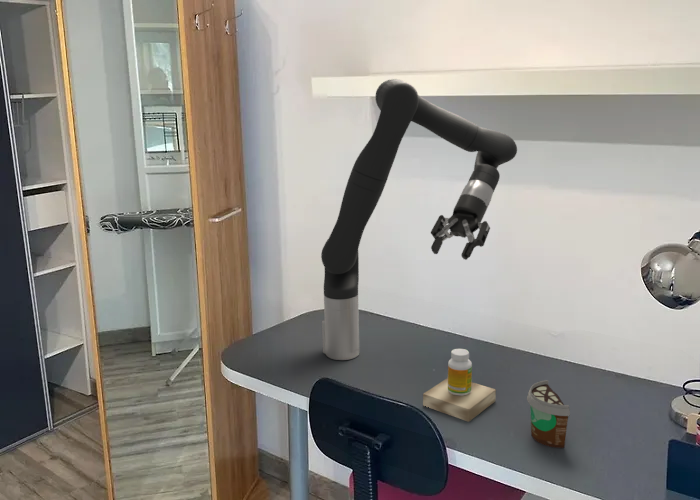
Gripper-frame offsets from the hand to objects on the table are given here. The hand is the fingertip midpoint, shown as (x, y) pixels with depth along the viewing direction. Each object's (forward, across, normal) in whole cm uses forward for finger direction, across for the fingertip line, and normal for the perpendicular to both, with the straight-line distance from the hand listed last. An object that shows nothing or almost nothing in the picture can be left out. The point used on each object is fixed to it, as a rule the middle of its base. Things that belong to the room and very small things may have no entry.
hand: (448, 255), depth 164 cm
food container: (+33, +33, +11) cm, 48 cm away
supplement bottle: (+29, +12, +10) cm, 33 cm away
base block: (+31, +12, +12) cm, 36 cm away
